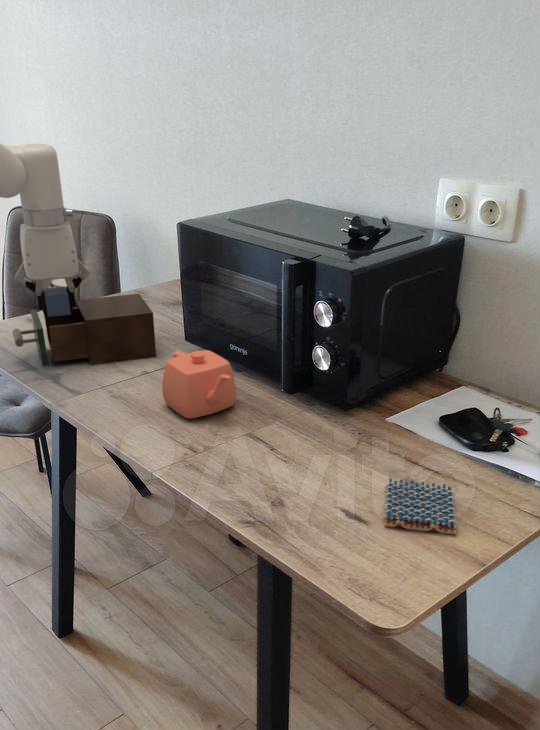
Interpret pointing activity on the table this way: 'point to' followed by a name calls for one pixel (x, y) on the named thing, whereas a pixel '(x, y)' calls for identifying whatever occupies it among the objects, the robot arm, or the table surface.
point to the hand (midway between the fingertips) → (57, 310)
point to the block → (57, 301)
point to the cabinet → (118, 328)
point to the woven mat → (420, 507)
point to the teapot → (198, 383)
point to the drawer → (58, 336)
